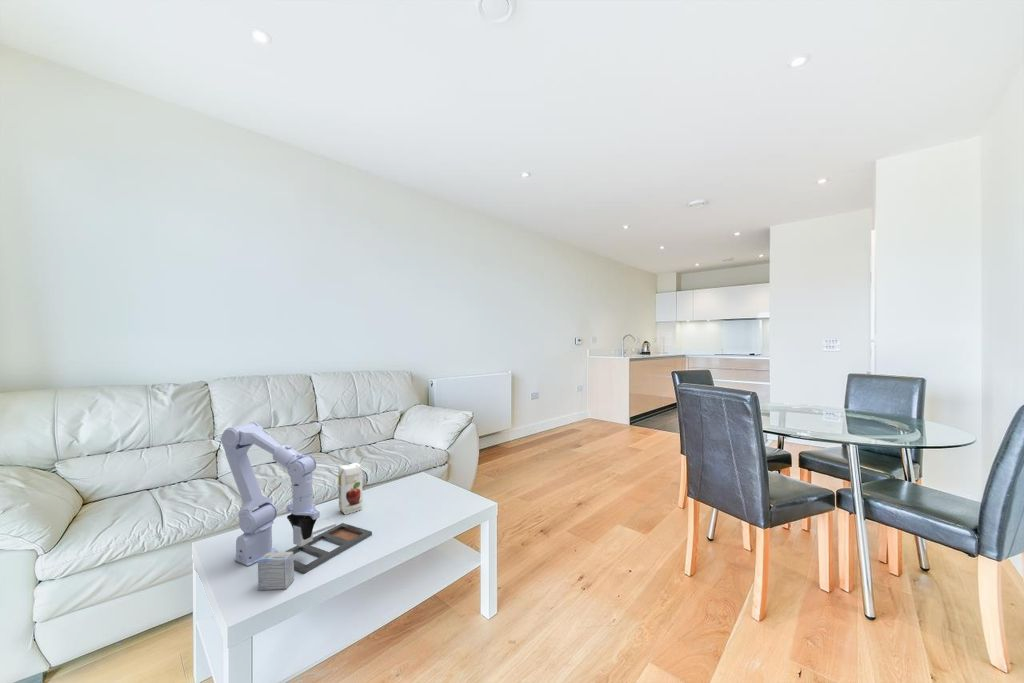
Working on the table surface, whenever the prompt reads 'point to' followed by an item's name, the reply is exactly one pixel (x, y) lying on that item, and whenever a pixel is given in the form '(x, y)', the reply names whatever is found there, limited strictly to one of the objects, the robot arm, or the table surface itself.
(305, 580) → the table surface
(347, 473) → the juice carton
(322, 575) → the table surface
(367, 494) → the table surface
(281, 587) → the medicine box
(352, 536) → the grey window frame
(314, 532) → the hard drive
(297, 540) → the grey metal block
